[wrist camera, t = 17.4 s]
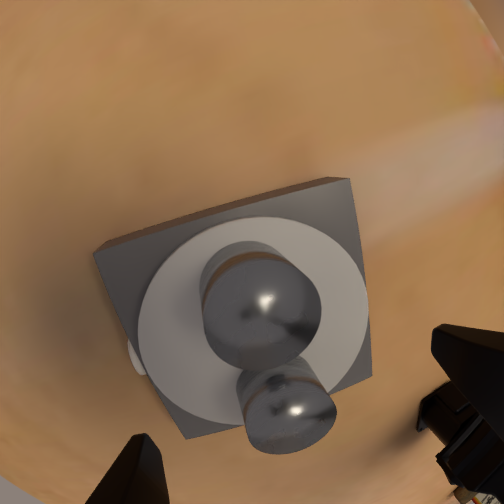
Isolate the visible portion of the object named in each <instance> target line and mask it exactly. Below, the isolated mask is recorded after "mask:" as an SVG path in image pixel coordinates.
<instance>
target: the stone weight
mask: <svg viewBox="0 0 504 504" xmlns="http://www.w3.org/2000/svg"><path fill="white" fill-rule="evenodd" d="M477 494H478V493H476V492H471V491H468V490H467V489H466V488H461V487H458V488H457V489H456V490H455V491H454V496H455V497H456V499H457V500H458V501H459V502H460V503H461V504H466V503H467V502H469V501H470V500H471V499H473V498H474V497H475V496H476V495H477Z"/></svg>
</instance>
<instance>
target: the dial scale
mask: <svg viewBox="0 0 504 504" xmlns="http://www.w3.org/2000/svg"><path fill="white" fill-rule="evenodd" d="M240 241H257V242H262V243H265V244H267V245H269V246H271V247H273V248H274V249H276V250H277V251H278V252H280V253H281V254H282V255H283V256H284V257H285V258H286V259H288V260H289V261H290V262H291V263H292V264H293V265H295V266H296V267H297V268H298V269H299V270H300V271H301V272H303V273H304V274H305V275H306V276H307V277H308V278H309V279H310V280H311V281H312V282H313V284H314V285H315V287H316V289H317V291H318V293H319V296H320V300H321V307H322V312H321V321H320V324H319V328H318V330H317V332H316V335H315V336H314V338H313V340H312V341H311V343H310V344H309V345H308V347H307V348H306V349H305V350H304V351H303V352H302V353H301V354H300V355H299V356H301V357H302V358H304V359H305V360H306V361H307V362H308V363H309V365H310V366H311V368H312V370H313V371H314V373H315V374H316V376H317V377H318V379H319V380H320V382H321V384H322V385H323V387H324V388H325V390H326V391H327V393H328V394H329V395H331V394H333V393H336V392H338V391H340V390H343V389H345V388H347V387H349V386H352V385H354V384H356V383H358V382H360V381H363V380H365V379H367V378H369V377H371V376H372V357H371V339H370V324H369V311H368V297H367V290H366V281H365V272H364V264H363V256H362V249H361V242H360V235H359V229H358V222H357V216H356V210H355V205H354V199H353V194H352V188H351V183H350V178H339V177H325V178H321V179H317V180H313V181H309V182H305V183H301V184H297V185H293V186H289V187H285V188H282V189H278V190H274V191H270V192H266V193H263V194H259V195H255V196H252V197H248V198H245V199H241V200H237V201H234V202H230V203H227V204H223V205H220V206H216V207H213V208H210V209H206V210H203V211H200V212H196V213H193V214H190V215H186V216H183V217H180V218H177V219H173V220H170V221H167V222H164V223H161V224H158V225H155V226H151V227H148V228H145V229H142V230H139V231H136V232H133V233H130V234H127V235H124V236H121V237H118V238H115V239H112V240H110V241H107V242H105V243H104V244H103V245H102V246H101V247H99V248H98V249H97V250H96V251H95V252H94V253H93V256H94V258H95V261H96V264H97V266H98V269H99V272H100V274H101V277H102V279H103V282H104V284H105V287H106V289H107V292H108V294H109V296H110V299H111V301H112V303H113V306H114V308H115V310H116V313H117V315H118V317H119V319H120V321H121V324H122V326H123V328H124V330H125V332H126V334H127V336H128V340H127V342H128V351H129V355H130V359H131V361H132V364H133V366H134V368H135V369H136V371H137V372H138V373H139V374H140V375H145V374H147V376H148V377H149V379H150V381H151V383H152V385H153V386H154V388H155V390H156V392H157V393H158V395H159V397H160V399H161V400H162V402H163V404H164V405H165V407H166V409H167V410H168V412H169V414H170V415H171V417H172V419H173V420H174V422H175V423H176V425H177V427H178V428H179V430H180V431H181V433H182V434H183V436H184V437H185V439H191V438H195V437H200V436H204V435H208V434H212V433H216V432H220V431H224V430H228V429H232V428H235V427H239V426H242V425H245V424H244V420H243V416H242V413H241V409H240V405H239V401H238V397H237V393H236V384H237V380H238V378H239V376H240V374H241V372H242V371H243V370H244V369H240V368H236V367H234V366H231V365H229V364H228V363H226V362H224V361H223V360H222V359H220V358H219V357H218V356H217V355H216V354H215V353H214V352H213V350H212V349H211V347H210V346H209V344H208V342H207V340H206V336H205V333H204V326H203V318H202V310H201V302H200V293H199V283H200V277H201V274H202V271H203V269H204V267H205V265H206V264H207V262H208V261H209V260H210V258H211V257H212V256H213V255H214V254H215V253H216V252H218V251H219V250H220V249H222V248H224V247H226V246H227V245H230V244H232V243H236V242H240Z"/></svg>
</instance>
